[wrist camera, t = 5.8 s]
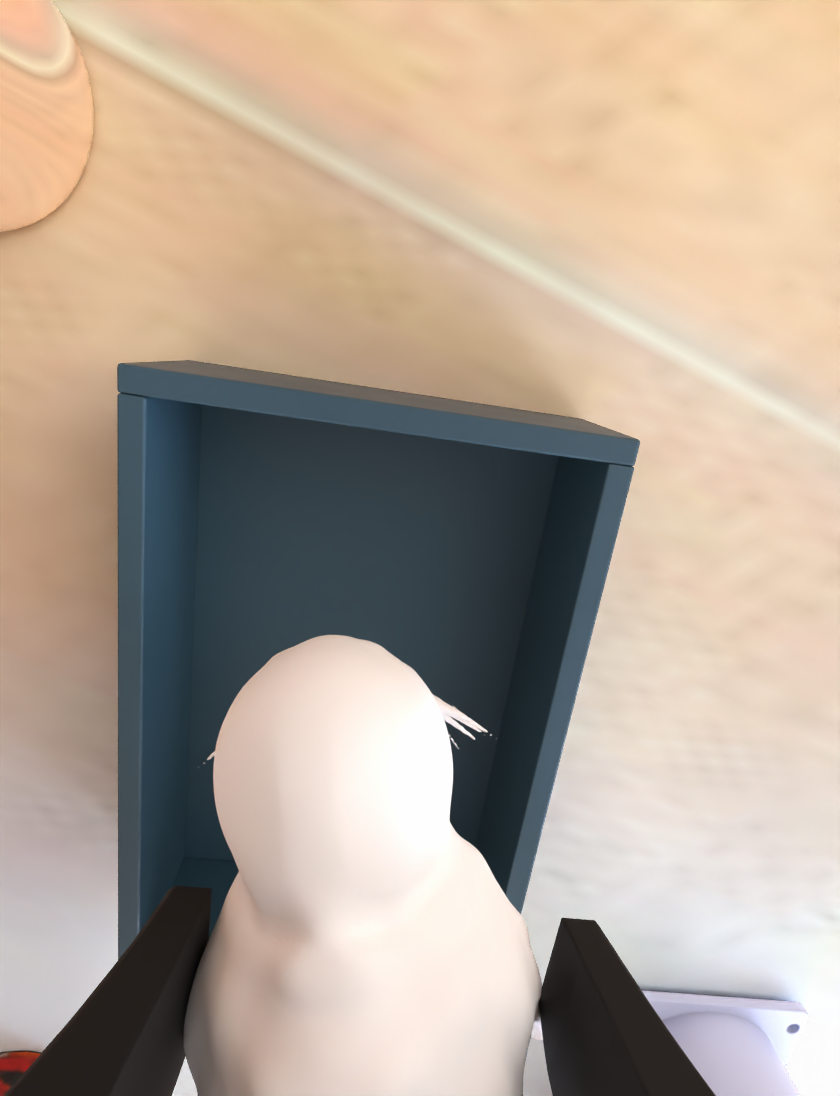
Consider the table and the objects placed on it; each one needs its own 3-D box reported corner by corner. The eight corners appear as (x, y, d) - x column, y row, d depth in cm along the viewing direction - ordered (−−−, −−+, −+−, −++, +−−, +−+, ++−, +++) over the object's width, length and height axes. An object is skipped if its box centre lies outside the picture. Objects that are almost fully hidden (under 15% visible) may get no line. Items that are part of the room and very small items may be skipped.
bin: (479, 883, 23) (497, 1006, 18) (171, 857, 22) (117, 979, 18) (582, 418, 18) (642, 440, 13) (187, 360, 17) (115, 362, 12)
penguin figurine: (116, 1851, 7) (-249, 964, 4) (289, 1064, 15) (196, 605, 13) (685, 1839, 7) (636, 888, 4) (543, 1044, 15) (499, 572, 12)
